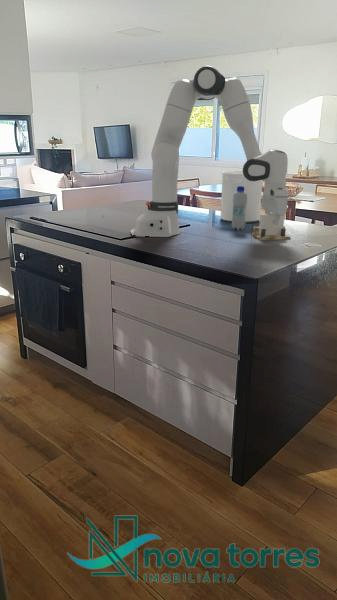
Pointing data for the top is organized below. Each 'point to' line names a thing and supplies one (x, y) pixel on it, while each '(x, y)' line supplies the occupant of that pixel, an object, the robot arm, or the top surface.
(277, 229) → the white rectangular block
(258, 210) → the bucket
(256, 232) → the tan pegged board
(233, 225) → the bottle
